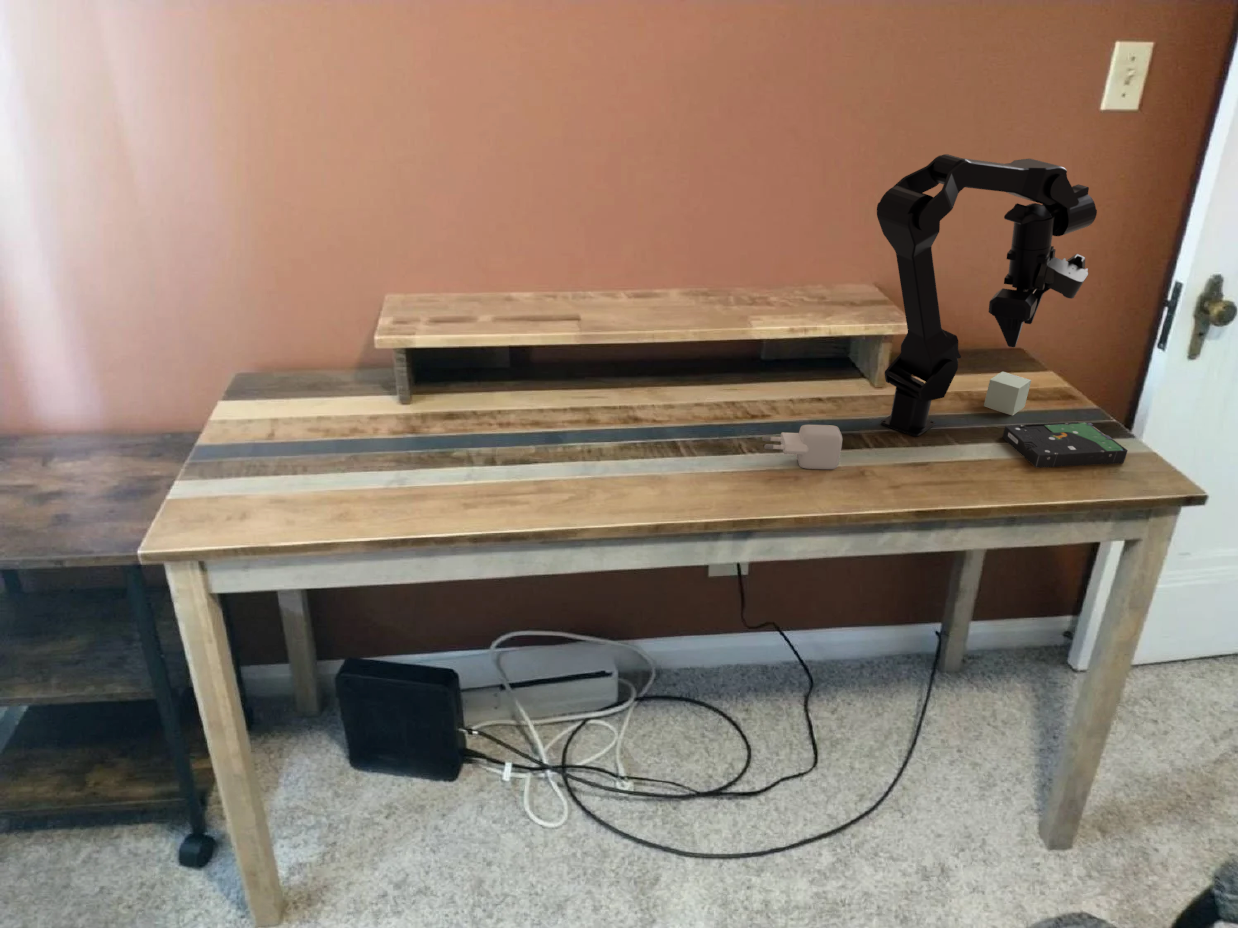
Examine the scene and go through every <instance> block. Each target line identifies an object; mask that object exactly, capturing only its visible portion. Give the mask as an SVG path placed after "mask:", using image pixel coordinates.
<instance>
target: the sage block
mask: <svg viewBox="0 0 1238 928" xmlns="http://www.w3.org/2000/svg"><path fill="white" fill-rule="evenodd" d="M1031 383H1032V379H1029V378H1026V377H1022V376H1018V375H1016V374H1011V373H1009V372H1006V371H1001V372H999V373H998V374H996V375H994V376H993V377H992V378H990V379H989V383H988V386H987V391H986V394H985V399H984V403H983V408H984V407H986V408H989V409H990V410H994V411H997V412H1000V413H1003V414H1005V415H1009V416H1011V417H1012V416H1014V415H1015V414H1017V413H1018V412H1020V411H1022V409H1024V408H1025V406H1026V404H1027V403H1026V402H1027V399H1028V398H1027V397H1028V395H1029V391H1030V387H1031Z"/></svg>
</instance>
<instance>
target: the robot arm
mask: <svg viewBox="0 0 1238 928" xmlns="http://www.w3.org/2000/svg"><path fill="white" fill-rule="evenodd" d="M1067 173H1068V171H1067V168H1065V167H1064V166H1061V165H1057V164H1053V163H1049V162H1045V161H1041V160H1038V159H1033V158H1023V159H1015V160H1013V161H1011V162H1007V163H1003V162H996V161H995V162H993V161H989V160H988V161H987V160H979V159H972V158H965V157H959V156H955V155H951V154H948V153H946V154H941V155H938V156H936V157H935V158H933V160H932V161H931V162H930V163H928V164H927V165H926V166H924V167H922V168H920V169H918V170H916V171H913V172H911V173H909V174H907V175H905V176H903V177H902V178H901V179H900V180H899V181H897V182H896V184H894V185H893V186H892V187H891V188H889V189H888V190H886V192H885V193H884V194H882V195H883V196H882V197H881V198H880V201H879V202H878V203H877V206H876V218H877V221H878V223H879V226H880V228H881V232H882V235H884V238H886V240H887V242H888V243H889V244H890V246H891V247H892V248H893V250H894V252H895V257H896V263H897V268H898V270H897V271H898V275H899V282H900V283H899V284H900V289H901V295H902V301H903V302H902V303H903V307H904V314H905V321H906V322H905V323H906V329H907V333H906V335H905V336H904V338H903V340H902V342H901V344H900V353H899V355H898V356H897V357H896V358H895V359H894V361H892V362H891V364H890V365H889V366H888V367H887V368H886V369H885V371H884V380H885V382H886V383H887V384H889V385H892V386H894V387H895V391H894V396H893V401H892V406H891V407H892V408H891V412H890V415H888V416H886V417H885V418H883V419H882V420H880V424H881V425H882V426H885V427H888V428H889V429H890V428H891V429H893V430H897V431H898V432H902V433H904V434H907V435H910V436H912V437H919V436H921V435H922V434H924V433H925V432H926V431H929V430H930V429H931V428H933V427H934V426H936V425H935V424H936V422H935V421H933V420H931V419H928V418H929V414H930V408H931V404H932V401H934V400H940V399H943V398H945V396H946V394H947V393H948V390H949V388H950V386H951V384H952V383H953V381H954V378H955V376H956V373H957V371H958V367H959V359H961V358H962V355H961V354H960V351H959V339H958V336H957V334H953V333H952V332H949V331H947V330H946V329H944V328H943V327H942V322H941V321H942V320H941V313H940V306H939V298H938V290H937V282H936V273H935V267H934V258H933V250H932V246H933V244H934V243H935V241H936V239H937V237H938V235H939V233H940V229H941V228H940V227H941V224H940V223H941V221H942V220H943V219H944V218H945V217H946V216H947V215H948V214H949V213H950V212H952V211H953V209H954V206H955V204H956V201H957V198H958V195H959V193H960V192H962V191H963V189H964V188H965V189H967V188H968V189H976V190H977V189H978V190H983V191H984V190H986V191H992V192H993V191H994V192H1003V193H1007V194H1009V195H1012V196H1014V197H1017V198H1020V199H1024V200H1027V201H1031V203H1030V204H1026V205H1025V204H1021V203H1019V202H1017V203H1015V204H1014V206H1013V207H1012V208H1011V209H1009V210H1008V211H1007V212H1006V213H1005V215H1004V217H1003V218H1004V220H1006V221H1009V222H1013V228H1012V239H1011V247H1010V249H1009V251H1008V252H1007V254H1006V260H1009V264H1008V272H1007V274H1006V275H1005V277H1004V279H1003V280H1004V281H1003V285H1004V284H1005V285H1010V286H1012V287H1011V288H1014V289H1009V288H1001V289H1000V290H998V291H996V292H995V294H994V295H993V297H991V298H990V300H989V303H988V313H989V314H990V315H991V316H993V317H994V318H995V320H996V322H997V324H998V326H999V329H1000V330H1001V333H1002V335H1003V338H1004V340H1005V343H1006V345H1007V346H1008V347H1009V348H1016V346H1017V343H1018V340H1019V337H1020V334H1021V332H1022V328H1023V325H1024V324H1026V325H1032V323H1033V321H1034V318H1035V316H1036V313H1037V310H1038V309H1039V306H1040V304H1041V301H1042V299H1043V296H1044V294H1045V293H1046V292H1047V291H1049V290H1050V289H1051V290H1052V291H1055V292H1057V293H1059V294H1061V295H1062V296H1063V297H1064V298H1067V299H1074V298H1075V297H1076V295H1077V294H1078V292H1079V290H1080V289H1081V287H1082V285H1083V283H1084V282H1085V280H1086V279H1087V277H1088V276H1089V272H1088V270H1089V268H1086V257H1085V256H1083V255H1082V254H1079V253H1076V254H1073V255H1072V256H1071V257H1070V258H1068V259H1067V258H1065V257H1064V258H1063V259H1061V258H1058V257H1056V249H1055V246H1054V245H1053V246H1052V242H1053V237H1062V236H1065V235H1066V234H1070V233H1074V232H1077V231H1079V230H1082V229H1085V228H1088V227H1090V226H1092V224H1093V223H1094V222H1095V220H1096V218H1097V215H1098V214H1097V213H1098V210H1097V208H1096V204H1095V201H1094V199H1093V197H1092V196H1090V194H1089V190H1090V188H1089V186H1087V185H1086V186H1085V185H1081V184H1075V185H1073V186H1072V184H1071V182H1070V181H1069V179H1068V174H1067ZM941 184H942V185H943V186H942V188H941V190H940V191H939V192H938V193H936V194H935V196H933V195H929V194H926V193H925V192H927V191H929V190H932V189H934V188H935V187H937V186H938V185H941ZM1032 202H1033V203H1032ZM919 379H920V380H919Z"/></svg>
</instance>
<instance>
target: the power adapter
mask: <svg viewBox="0 0 1238 928" xmlns="http://www.w3.org/2000/svg"><path fill="white" fill-rule="evenodd" d="M840 430H841V429H840V428H839V427H838V426H836V425H833V424H832V425H829V424H803V425H801V426H800V428H799V432H783V431H782V432H781V433H780V436H771V435H769V436H766V435H763V436H762V437H761V440H762V442H780V444H772V443H771V444H770V443H769V444H767V443H766V444H764V449H765V450H782V452H783V454H784V455H795V456H796V459H797V463H798V465H799V467H800V468H802V469H806V470H807V469H808V470H809V469H810V470H835V469H838V466H839V464H840V463H839V462H840V459H841V453H842V452H841V451H842V447H843V435H842V433H841V431H840Z"/></svg>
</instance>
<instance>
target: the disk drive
mask: <svg viewBox="0 0 1238 928" xmlns="http://www.w3.org/2000/svg"><path fill="white" fill-rule="evenodd" d="M1093 425H1094V424H1093V423H1092V422H1078V421H1077V422H1076V421H1074V422H1073V421H1072V422H1071V421H1070V422H1056V423H1054V422H1053V423H1050V422H1049V423H1048V422H1047V423H1033V424H1032V423H1029V424H1027V423H1026V424H1010V425H1005V427H1004V430H1003V433H1002V439H1004V441H1005V442H1006V443H1008V444H1009V445H1010V446H1011V447H1012V448H1014V450H1015V451H1016V452H1018V453H1019V455H1020V456H1023V458H1024V459H1026V461H1028V462H1029V463H1030V464H1031V465H1032V466H1033V467H1034V468H1037V469H1038V468H1040V469H1041V468H1055V467H1073V466H1077V467H1078V466H1093V465H1094V466H1096V465H1097V466H1098V465H1113V464H1114V465H1116V464H1124V463H1125V460H1126V458H1127V453H1128V449H1127V448H1125V447H1124V446H1122V445H1121V444H1120V443H1118V442H1117V440H1114V438H1112V437H1111V436H1110V435H1108V434H1104V432H1102V431H1101V430H1099V429H1098V428H1097V427H1095V426H1093Z"/></svg>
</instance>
